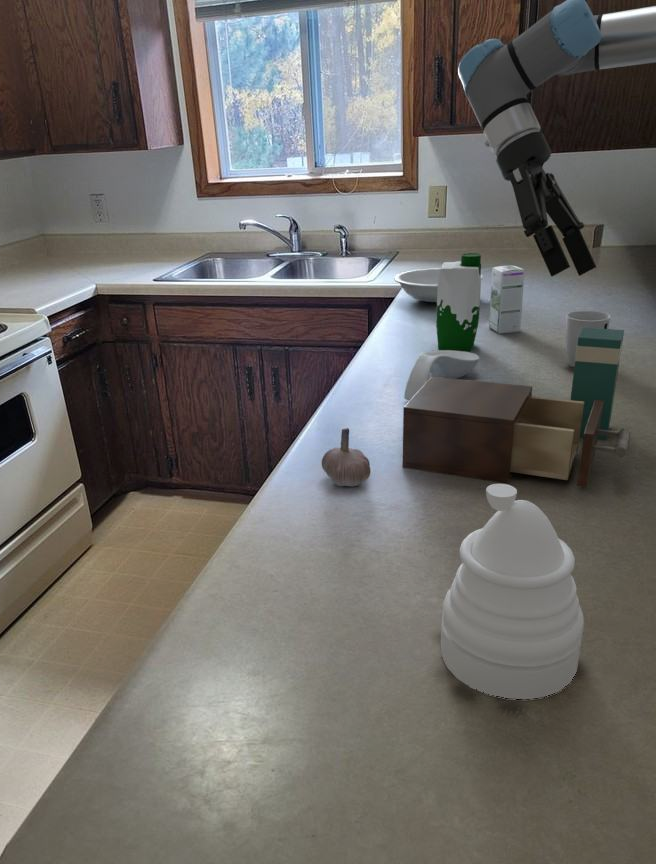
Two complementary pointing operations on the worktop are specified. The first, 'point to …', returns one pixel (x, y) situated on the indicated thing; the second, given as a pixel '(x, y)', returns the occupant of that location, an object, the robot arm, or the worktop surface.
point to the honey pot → (513, 605)
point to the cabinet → (462, 427)
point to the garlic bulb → (346, 463)
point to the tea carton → (597, 372)
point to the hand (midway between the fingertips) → (574, 271)
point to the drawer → (559, 438)
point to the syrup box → (506, 299)
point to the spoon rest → (439, 368)
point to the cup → (576, 324)
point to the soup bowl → (421, 283)
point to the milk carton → (458, 303)
